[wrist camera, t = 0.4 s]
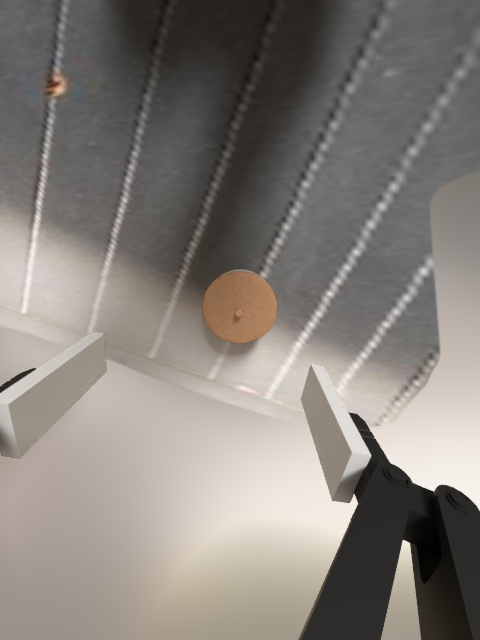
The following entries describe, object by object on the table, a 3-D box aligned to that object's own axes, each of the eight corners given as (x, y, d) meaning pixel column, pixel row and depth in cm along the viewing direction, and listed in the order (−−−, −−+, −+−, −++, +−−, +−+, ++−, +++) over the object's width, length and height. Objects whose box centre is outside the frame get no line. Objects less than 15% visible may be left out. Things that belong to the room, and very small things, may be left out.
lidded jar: (215, 328, 44) (207, 352, 36) (204, 268, 41) (192, 279, 32) (274, 321, 44) (281, 344, 35) (269, 260, 40) (275, 268, 31)
